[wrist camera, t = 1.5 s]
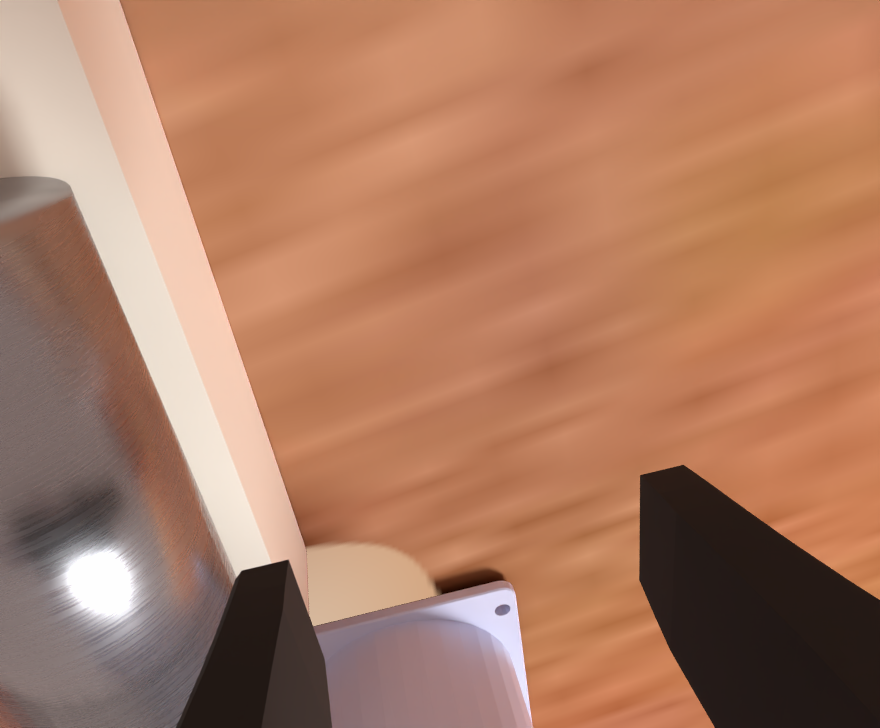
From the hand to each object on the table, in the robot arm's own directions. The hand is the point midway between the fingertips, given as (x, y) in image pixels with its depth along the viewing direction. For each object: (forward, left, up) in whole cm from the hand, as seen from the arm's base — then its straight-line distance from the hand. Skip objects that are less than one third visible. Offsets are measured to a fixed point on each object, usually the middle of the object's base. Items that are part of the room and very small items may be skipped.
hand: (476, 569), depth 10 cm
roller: (0, +6, -3) cm, 7 cm away
